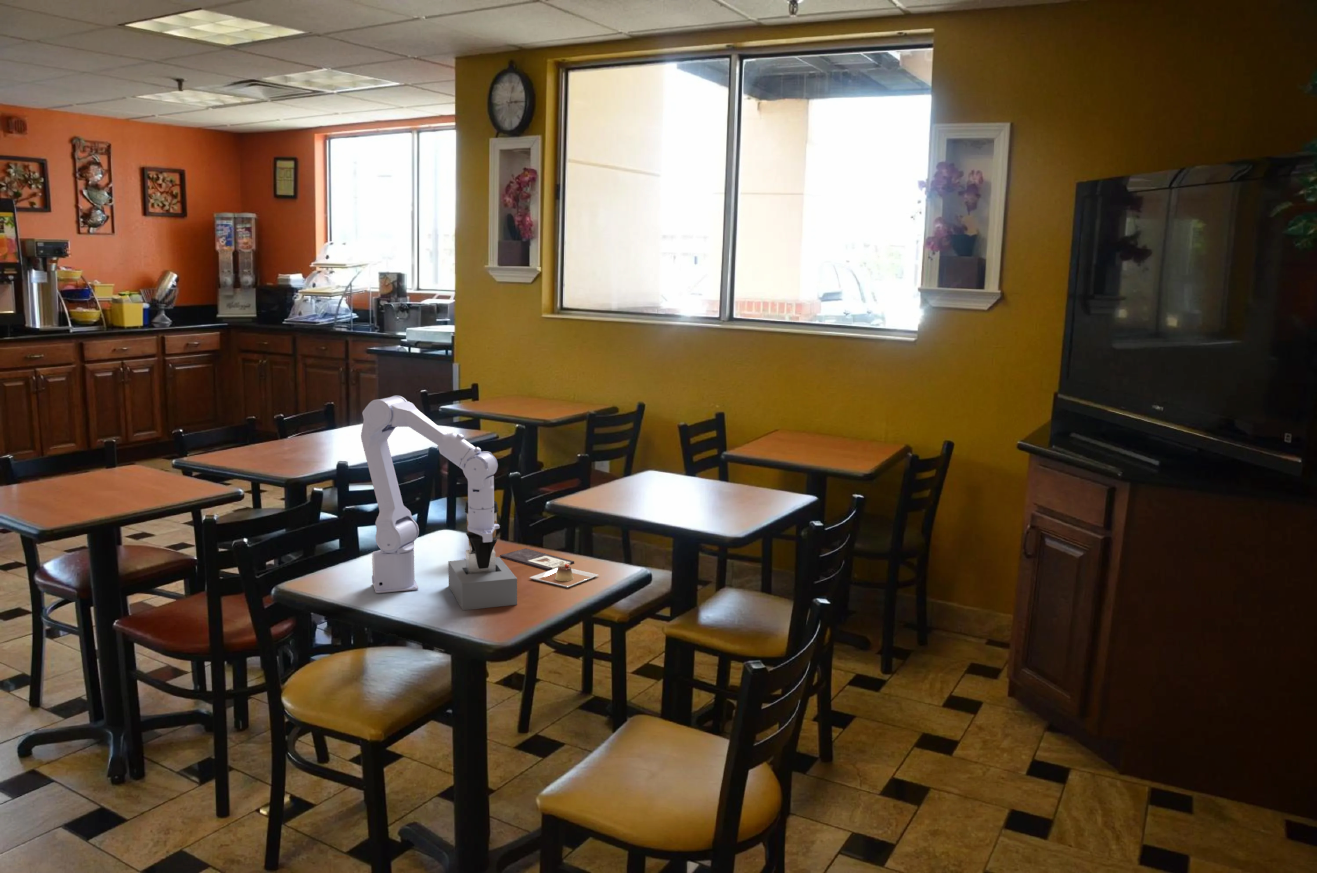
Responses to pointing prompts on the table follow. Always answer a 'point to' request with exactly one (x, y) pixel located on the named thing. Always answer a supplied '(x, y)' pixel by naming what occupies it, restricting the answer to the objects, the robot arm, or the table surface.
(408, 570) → the robot arm
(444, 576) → the table surface
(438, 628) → the table surface
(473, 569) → the cream block
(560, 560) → the chocolate bar
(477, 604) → the grey tissue box
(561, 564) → the dessert
